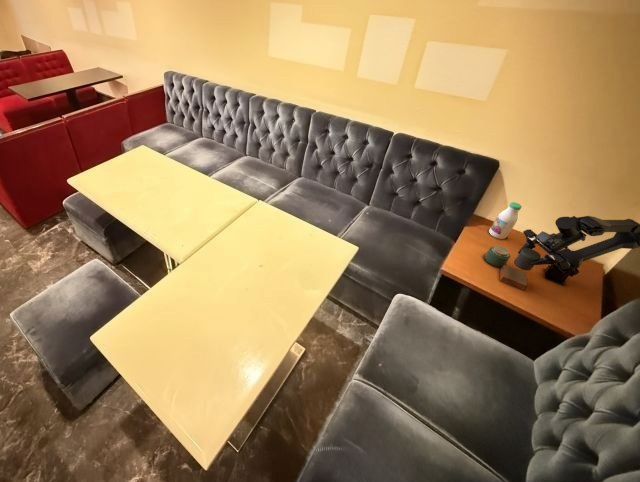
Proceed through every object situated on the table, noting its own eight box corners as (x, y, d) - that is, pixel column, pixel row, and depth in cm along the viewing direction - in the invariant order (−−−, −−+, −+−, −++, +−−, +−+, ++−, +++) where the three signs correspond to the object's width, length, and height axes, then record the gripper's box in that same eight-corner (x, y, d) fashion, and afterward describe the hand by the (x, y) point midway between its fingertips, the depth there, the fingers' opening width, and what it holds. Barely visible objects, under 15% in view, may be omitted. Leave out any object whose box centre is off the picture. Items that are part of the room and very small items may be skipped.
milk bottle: (502, 230, 168) (521, 201, 156) (508, 240, 161) (529, 210, 150) (486, 228, 169) (504, 198, 158) (491, 237, 163) (510, 207, 152)
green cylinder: (504, 259, 151) (512, 248, 146) (504, 270, 145) (512, 259, 141) (484, 252, 155) (491, 241, 150) (483, 262, 149) (490, 251, 145)
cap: (531, 264, 136) (540, 251, 132) (531, 273, 132) (541, 261, 128) (513, 257, 139) (522, 245, 135) (513, 266, 135) (522, 254, 131)
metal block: (523, 277, 142) (526, 273, 140) (523, 290, 136) (527, 285, 135) (500, 268, 146) (503, 264, 144) (499, 280, 140) (503, 276, 139)
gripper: (539, 214, 132) (501, 234, 138) (581, 246, 116) (536, 267, 122) (546, 227, 137) (509, 246, 142) (587, 259, 121) (544, 279, 127)
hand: (524, 258), depth 133 cm, fingers closed on cap, 6 cm apart
